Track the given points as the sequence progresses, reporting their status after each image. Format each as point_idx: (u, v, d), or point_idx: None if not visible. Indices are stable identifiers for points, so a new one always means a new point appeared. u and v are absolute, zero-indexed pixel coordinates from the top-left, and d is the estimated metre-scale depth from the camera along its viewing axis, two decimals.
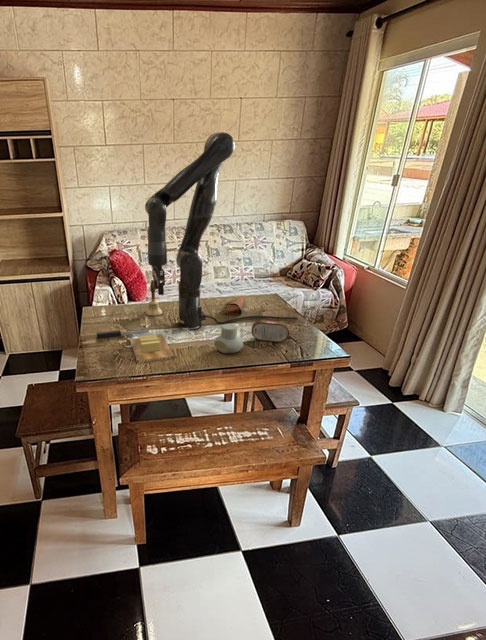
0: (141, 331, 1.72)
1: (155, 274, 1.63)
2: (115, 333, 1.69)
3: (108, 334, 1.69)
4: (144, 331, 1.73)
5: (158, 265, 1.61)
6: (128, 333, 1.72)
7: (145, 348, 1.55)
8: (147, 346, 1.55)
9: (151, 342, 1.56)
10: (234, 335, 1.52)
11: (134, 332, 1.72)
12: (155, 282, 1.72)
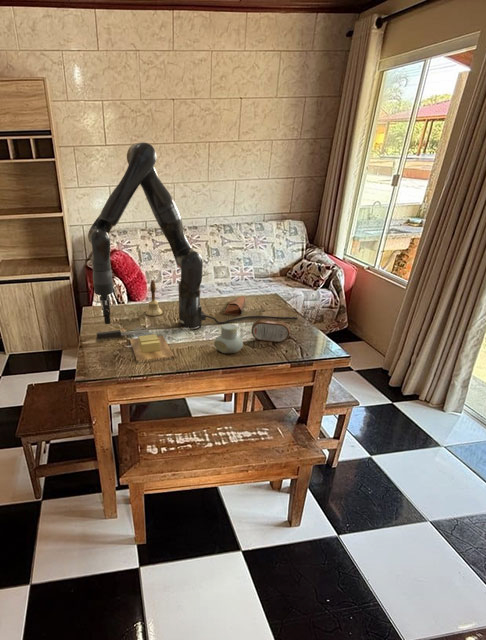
0: (141, 331, 1.72)
1: (101, 303, 1.60)
2: (115, 333, 1.69)
3: (108, 334, 1.69)
4: (144, 331, 1.73)
5: (103, 295, 1.58)
6: (128, 333, 1.72)
7: (145, 348, 1.55)
8: (147, 346, 1.55)
9: (151, 342, 1.56)
10: (234, 335, 1.52)
11: (134, 332, 1.72)
12: None
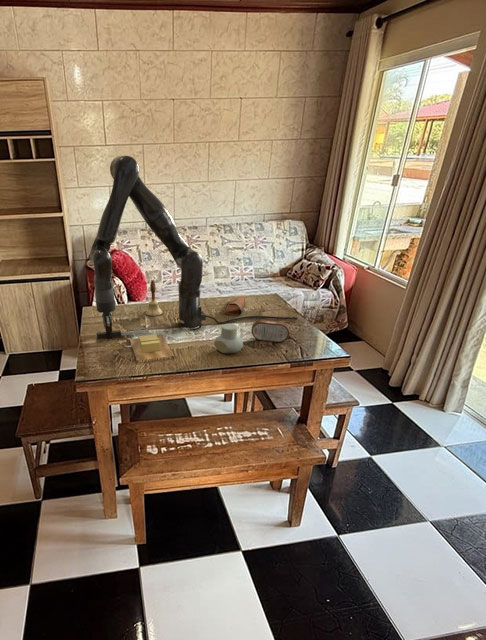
0: (141, 331, 1.72)
1: (103, 321, 1.65)
2: (115, 333, 1.69)
3: None
4: (144, 331, 1.73)
5: (105, 312, 1.61)
6: (128, 333, 1.71)
7: (145, 348, 1.55)
8: (147, 346, 1.55)
9: (151, 342, 1.56)
10: (234, 335, 1.52)
11: (134, 332, 1.72)
12: None
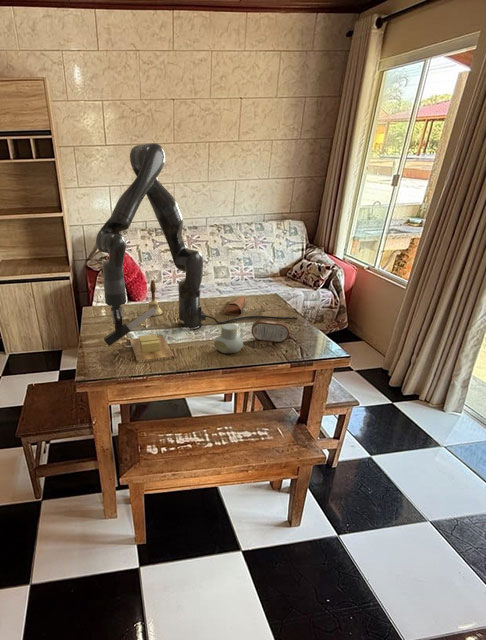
0: (146, 313, 1.51)
1: (113, 315, 1.47)
2: None
3: (115, 334, 1.52)
4: (149, 311, 1.51)
5: (115, 305, 1.44)
6: (134, 322, 1.52)
7: (145, 348, 1.55)
8: (147, 346, 1.55)
9: (151, 342, 1.56)
10: (234, 335, 1.52)
11: (140, 318, 1.52)
12: None
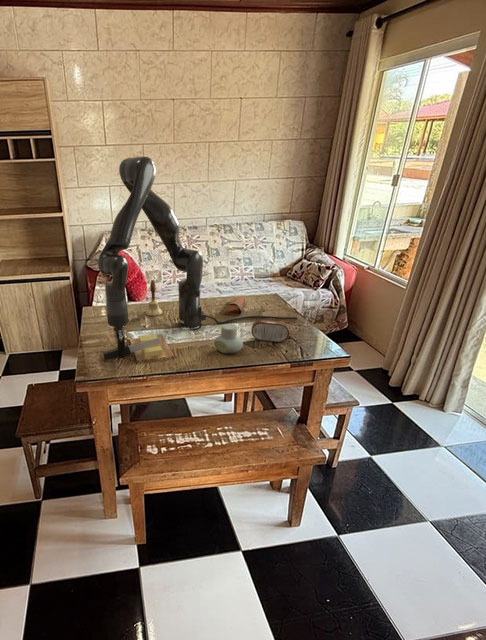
0: (151, 341, 1.54)
1: (115, 336, 1.48)
2: None
3: (115, 351, 1.52)
4: (154, 340, 1.54)
5: (118, 326, 1.44)
6: (137, 346, 1.54)
7: None
8: None
9: (154, 353, 1.53)
10: (234, 335, 1.52)
11: (144, 343, 1.54)
12: None
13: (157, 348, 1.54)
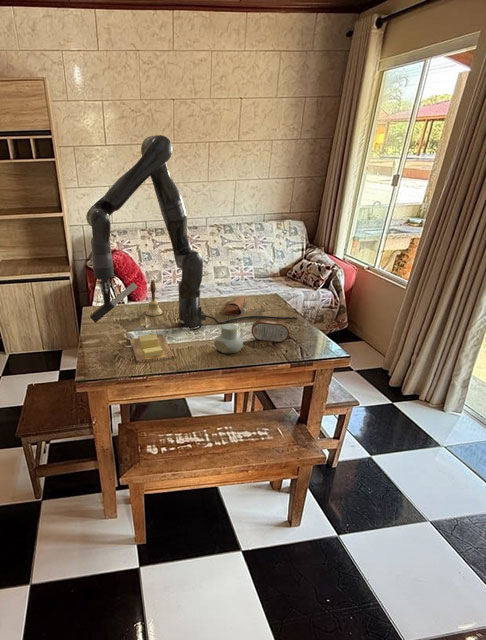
0: (128, 288, 1.59)
1: (101, 289, 1.55)
2: None
3: (100, 310, 1.60)
4: (130, 286, 1.59)
5: (103, 279, 1.52)
6: (117, 298, 1.60)
7: None
8: None
9: (154, 353, 1.53)
10: (234, 335, 1.52)
11: (122, 293, 1.60)
12: None
13: (157, 348, 1.54)
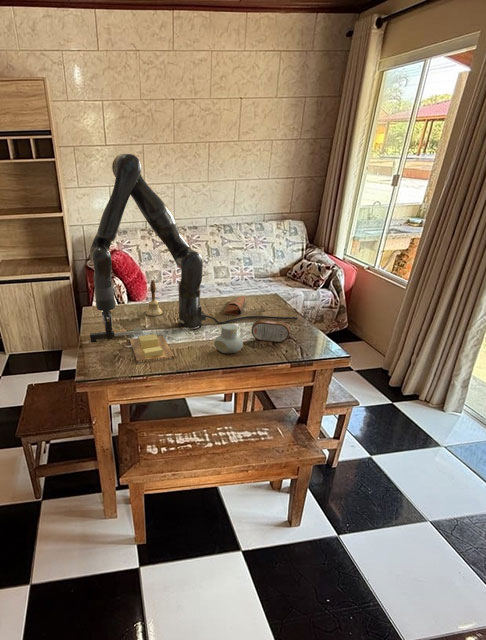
0: (135, 332, 1.72)
1: (103, 319, 1.64)
2: None
3: (101, 335, 1.68)
4: (138, 332, 1.72)
5: (105, 310, 1.61)
6: (121, 334, 1.71)
7: None
8: None
9: (154, 353, 1.53)
10: (234, 335, 1.52)
11: (128, 333, 1.71)
12: (106, 326, 1.71)
13: (157, 348, 1.54)
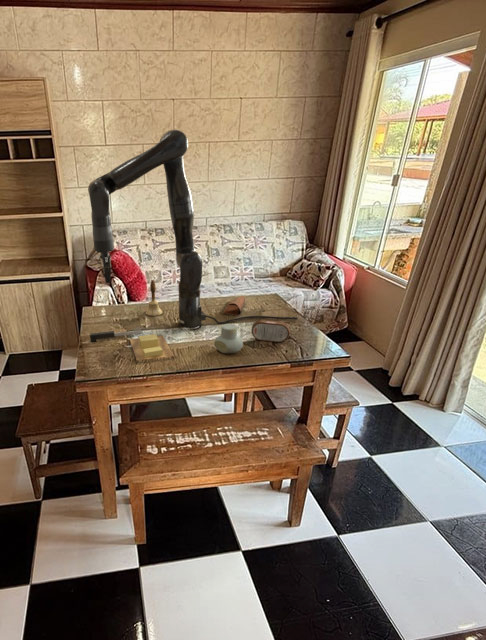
0: (135, 332, 1.72)
1: (101, 261, 1.57)
2: (108, 334, 1.69)
3: (101, 335, 1.68)
4: (138, 332, 1.72)
5: (103, 252, 1.54)
6: (121, 334, 1.71)
7: None
8: None
9: (154, 353, 1.53)
10: (234, 335, 1.52)
11: (128, 333, 1.71)
12: (104, 270, 1.65)
13: (157, 348, 1.54)
